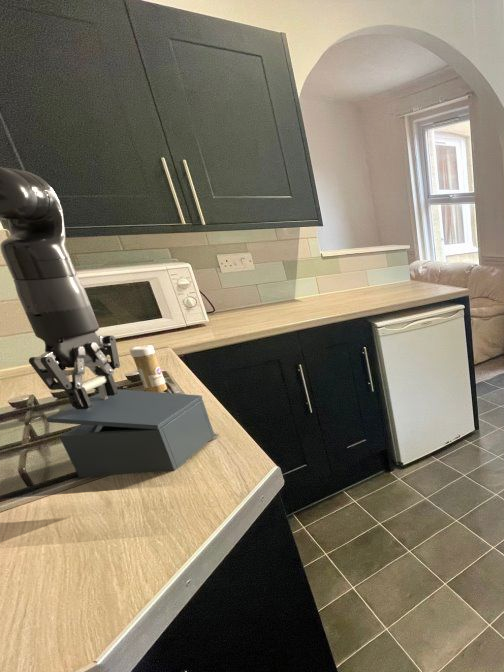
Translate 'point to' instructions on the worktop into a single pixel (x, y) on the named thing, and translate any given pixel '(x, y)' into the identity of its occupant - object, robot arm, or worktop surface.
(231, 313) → the worktop surface
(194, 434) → the storage box
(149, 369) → the sprinkles bottle
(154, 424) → the lid
